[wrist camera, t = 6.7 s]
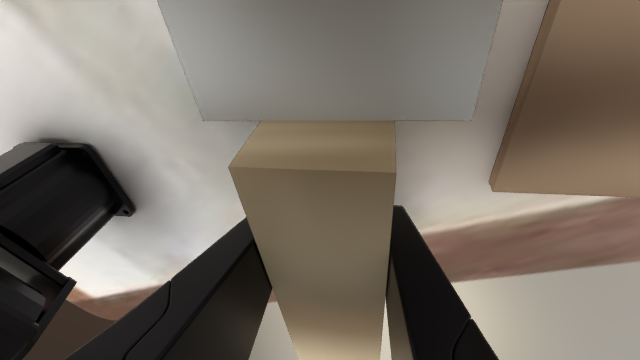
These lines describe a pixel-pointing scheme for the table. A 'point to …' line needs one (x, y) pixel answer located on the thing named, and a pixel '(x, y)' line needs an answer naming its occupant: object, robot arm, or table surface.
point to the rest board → (577, 105)
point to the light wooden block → (328, 135)
